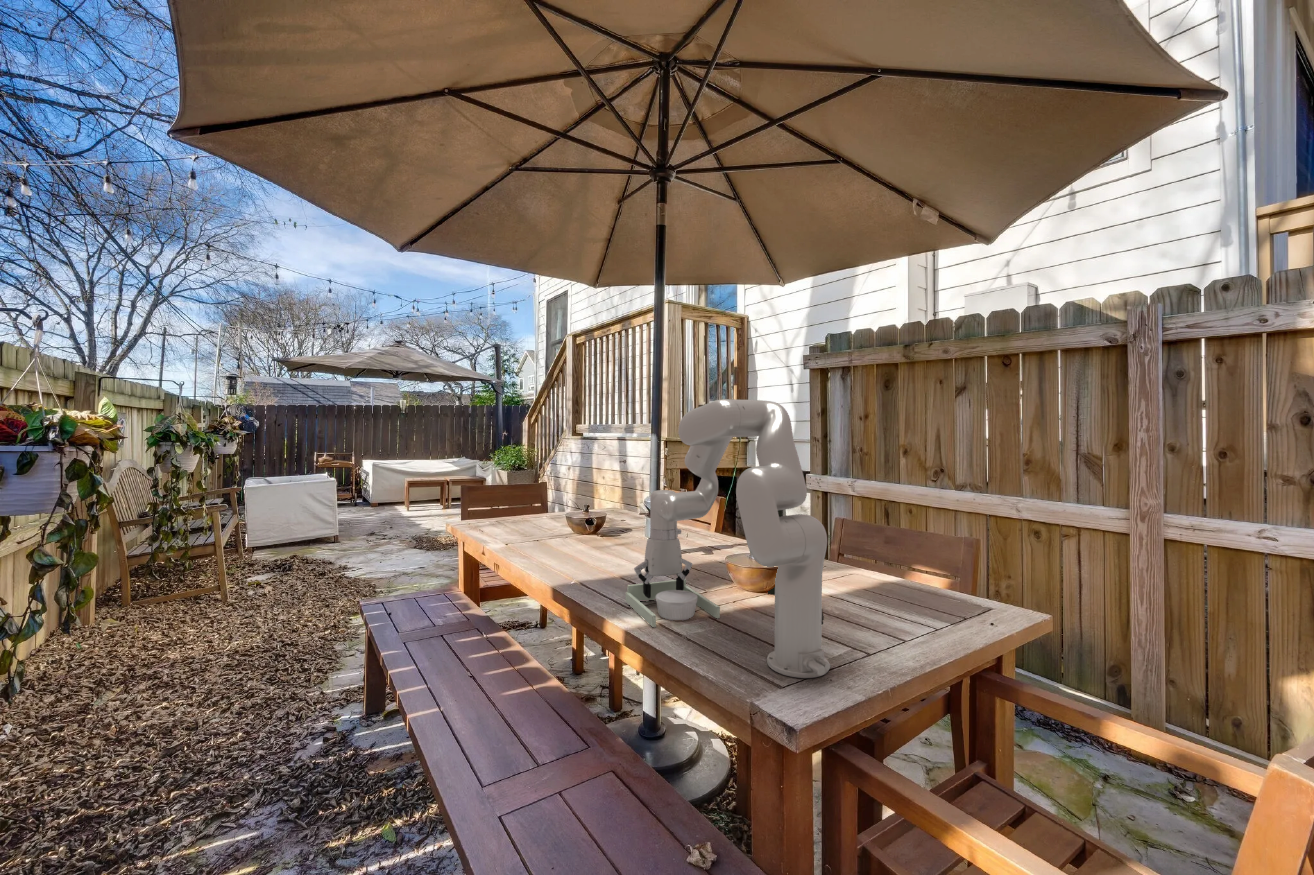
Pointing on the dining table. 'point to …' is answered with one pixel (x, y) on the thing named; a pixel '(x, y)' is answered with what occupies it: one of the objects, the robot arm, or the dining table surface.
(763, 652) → the dining table surface
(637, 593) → the green three-sided fence
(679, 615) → the ramekin
